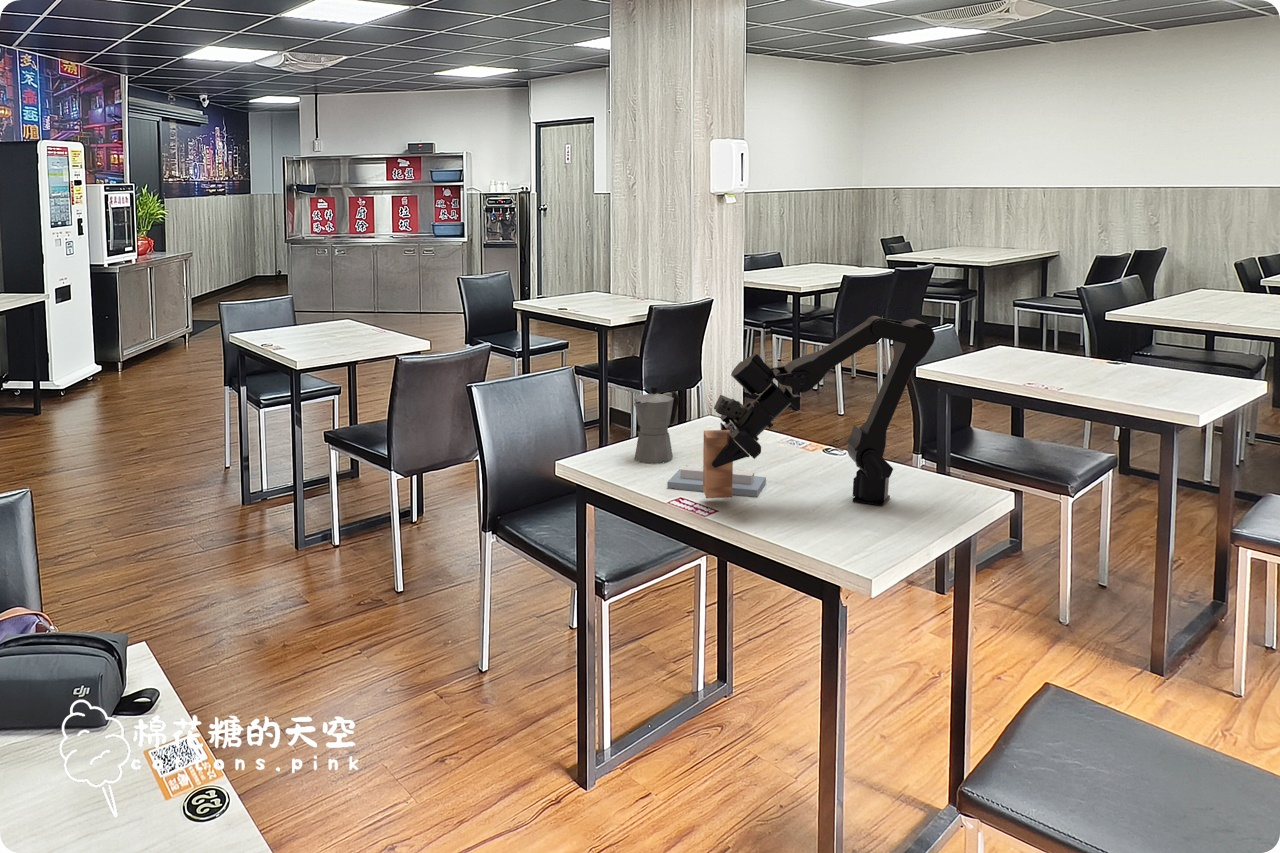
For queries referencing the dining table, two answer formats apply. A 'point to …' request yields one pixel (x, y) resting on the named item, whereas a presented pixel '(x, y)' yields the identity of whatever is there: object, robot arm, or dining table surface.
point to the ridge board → (735, 486)
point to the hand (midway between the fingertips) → (711, 462)
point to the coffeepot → (655, 425)
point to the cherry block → (719, 478)
